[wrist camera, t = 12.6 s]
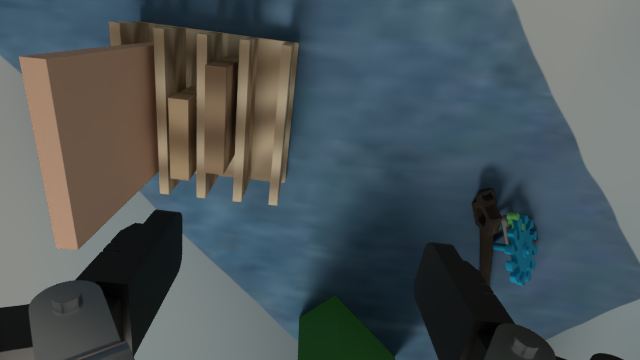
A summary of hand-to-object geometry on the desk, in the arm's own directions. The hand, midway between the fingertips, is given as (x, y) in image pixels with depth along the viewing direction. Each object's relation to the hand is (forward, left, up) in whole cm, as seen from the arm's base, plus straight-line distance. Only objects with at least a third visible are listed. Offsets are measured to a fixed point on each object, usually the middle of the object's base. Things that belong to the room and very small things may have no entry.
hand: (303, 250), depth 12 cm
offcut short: (+6, -13, -36) cm, 39 cm away
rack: (+4, -11, -38) cm, 40 cm away
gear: (+19, +33, -38) cm, 54 cm away
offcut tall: (+3, -9, -36) cm, 38 cm away
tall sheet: (+4, -17, -36) cm, 40 cm away
